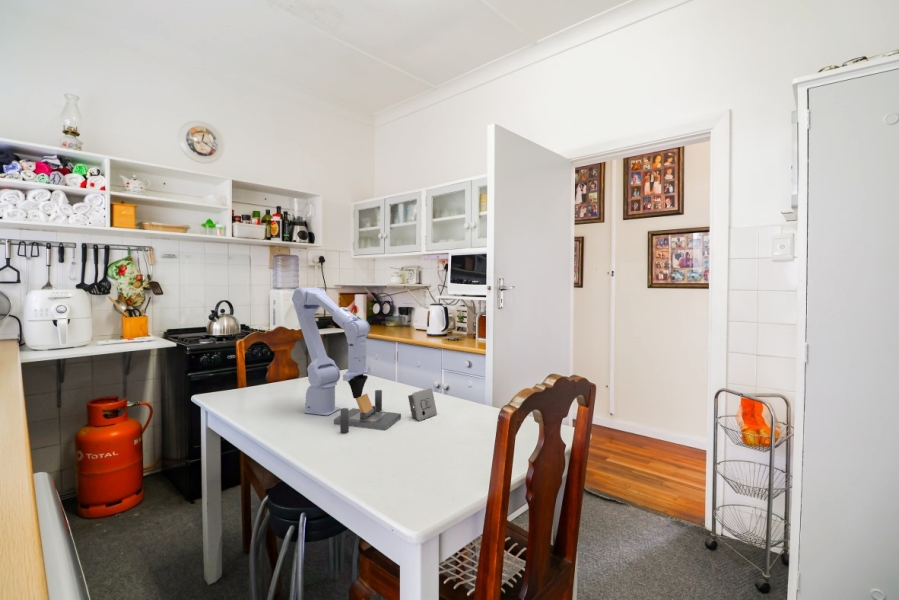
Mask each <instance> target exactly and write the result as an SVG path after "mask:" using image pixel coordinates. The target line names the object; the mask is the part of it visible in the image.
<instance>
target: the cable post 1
mask: <svg viewBox="0 0 899 600" xmlns="http://www.w3.org/2000/svg"><path fill="white" fill-rule="evenodd" d="M339 410H340V411H339V413H340V415H339V416H340V424H339V426H340V429H339V430H340V434H342V435H343V434H348V433H349V431H350V430H349V410H350V409H349V408H347V407H344V408H340V409H339Z"/></svg>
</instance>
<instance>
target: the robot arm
mask: <svg viewBox="0 0 899 600" xmlns="http://www.w3.org/2000/svg"><path fill="white" fill-rule="evenodd" d="M291 300H292V304H293V306H294V310H295V313H296V316H297V317H296V318H297V321H298V324H299V327H300V329H301V333H302V335H303V339H304V343H305V345H306V347H307V352H308V355H309V357H310V360H311V362H310V363H309V365H308V366H307V368H306V370H307V374H308V375H307V377H308V383H309V384H310V385H309V386H308V387H307V389H306V392H305V410H304V412H303V413H305V414H313V415H320V416H321V415H322V416H330V415H332V414H333V413H336V412H338V411H339V410H340V409H341V407H336V386H337V384H338V382H339V381H340V378H341V371H340V368H339V367H338V366H337V364H336V362H335V360H333V359H332V358H330V357H329V356H328V355H327V352H326V348H325V346H324V343H323V339H322V337H321V334H320V331H319V327H318V324H317V322H316V317H315V314H316V313H317V312H318V311H319V309H320V308H321V309H323V310H324V311H326V312H327V313H329V314H330V315H331V316H332V320H333V321H334V323H336V324H337V325H338V326H339V327H340V328H342V330H343V332H344V335H345V337H346V342H347V344H348V345H347V348H348V349H347V350H348V354H347V355H348V357H347V358H348V360H347V361H348V364H347V367H348V369H347V371H345V373H343V375H342V381H344V382H345V381H346V382H347V383H348V385H349V388H350V390H351V394H352V397H353V399H356V398H358V397H360V396H362V395H363V389H364V387H365V384H366V382H367V380H368V378H369V377H368V376H369V375H366V374H369V373H370V372H371V366H370V365H367V336H369V334H370V331H371V325H370V324H369V322H368V321H367V320H366V319H364V318H362V319H360V318H359V317H358V316H357V315H355V314H353V313H352V312H351V311H350V309H349V308H348V307H342V306H340V307H339V305H338V304H336V303H335V302H334V300H332V299H331V297H329V296H328V294H327V291H326V290H324V289H323V288H322V287H320V286H319V287H300V286H299V287H297V288H295V289H294V291H293V294H292V297H291Z"/></svg>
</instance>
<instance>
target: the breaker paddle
mask: <svg viewBox="0 0 899 600" xmlns="http://www.w3.org/2000/svg"><path fill="white" fill-rule="evenodd" d="M355 400H356V404H357V406H358V409H360V411H361V412H364V413H366V417H368V416H369V415H371V414H372V413H374V412H375V409H374V408H373V407H372V406H373V404H372V402H371V399H370V398H369V395H368V393H367V392H366V393H364V394H362V395H361V396H360V397H358V398H355Z"/></svg>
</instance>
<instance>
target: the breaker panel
mask: <svg viewBox="0 0 899 600" xmlns="http://www.w3.org/2000/svg"><path fill="white" fill-rule="evenodd" d="M372 407H373V408H374V409H375V412H374V413H372V414H371V415H369V416H368V417H366V413H364V412H361V411H360V409H359V408H355V407H353V408H351V409H349V426H350V427H356V428H358V427H359V428H365V429H372V430H373V429H375V430H382V431H387V430H388V429H389V428H391V427H392V426H393V425H394V424H396V423H397V422H398V421H400V420H401V419H402V413H401V412H399V413H398V412H388V411H376V406H375V405H372ZM333 424H334V425H340V415H338V416H337V417H334V419H333Z"/></svg>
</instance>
